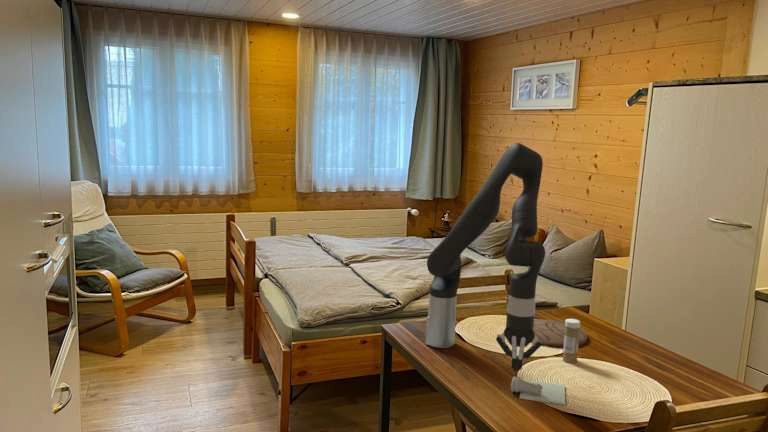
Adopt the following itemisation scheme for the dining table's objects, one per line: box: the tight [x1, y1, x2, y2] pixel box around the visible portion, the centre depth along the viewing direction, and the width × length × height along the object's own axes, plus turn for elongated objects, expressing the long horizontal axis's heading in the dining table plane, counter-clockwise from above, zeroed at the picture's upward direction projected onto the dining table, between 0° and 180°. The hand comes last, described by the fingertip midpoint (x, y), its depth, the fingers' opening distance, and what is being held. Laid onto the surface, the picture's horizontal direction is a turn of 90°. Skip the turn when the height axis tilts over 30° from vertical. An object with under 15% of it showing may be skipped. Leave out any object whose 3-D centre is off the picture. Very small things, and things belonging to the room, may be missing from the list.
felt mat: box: [519, 378, 566, 406], centre depth 164 cm, size 12×12×1 cm
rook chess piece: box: [510, 375, 542, 395], centre depth 162 cm, size 4×4×8 cm
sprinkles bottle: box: [562, 318, 581, 364], centre depth 187 cm, size 5×5×14 cm
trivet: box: [530, 318, 588, 349], centre depth 211 cm, size 25×25×2 cm
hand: (516, 370), depth 165 cm, fingers closed
